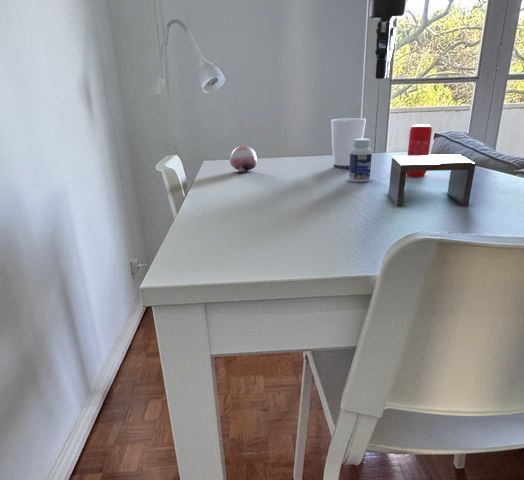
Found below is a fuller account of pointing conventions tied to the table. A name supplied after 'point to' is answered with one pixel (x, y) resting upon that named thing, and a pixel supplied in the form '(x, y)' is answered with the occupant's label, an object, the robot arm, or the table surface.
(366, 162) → the pill bottle
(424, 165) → the shelf
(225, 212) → the table surface
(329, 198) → the table surface
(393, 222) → the table surface
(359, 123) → the cup
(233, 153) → the onion
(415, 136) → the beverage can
